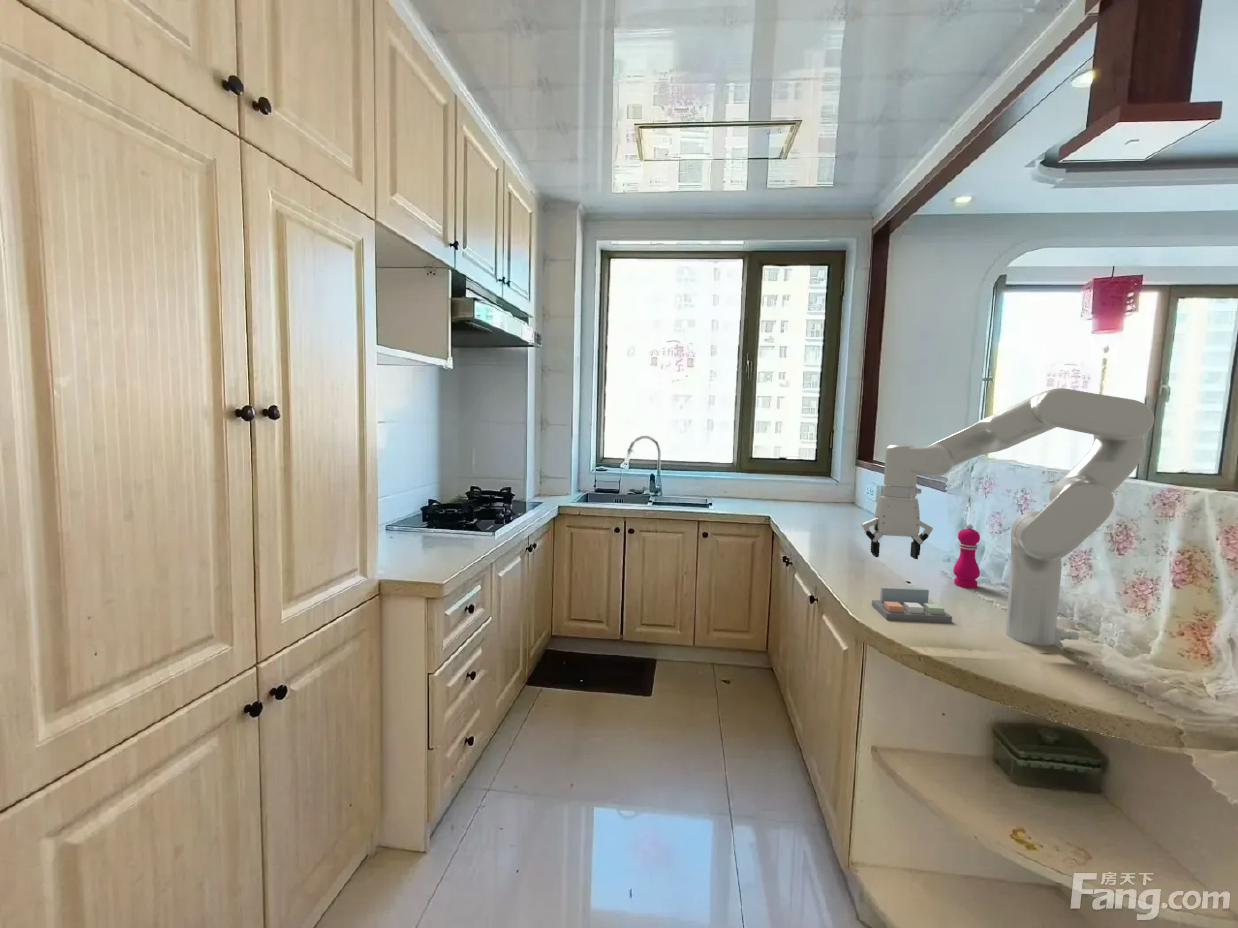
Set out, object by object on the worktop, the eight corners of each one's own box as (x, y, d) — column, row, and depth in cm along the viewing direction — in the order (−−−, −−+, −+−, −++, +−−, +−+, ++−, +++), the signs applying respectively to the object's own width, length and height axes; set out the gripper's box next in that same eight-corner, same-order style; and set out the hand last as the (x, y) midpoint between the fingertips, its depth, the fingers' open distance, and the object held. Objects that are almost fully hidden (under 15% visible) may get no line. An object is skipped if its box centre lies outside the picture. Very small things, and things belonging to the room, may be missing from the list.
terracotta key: (897, 612, 145) (898, 601, 144) (903, 617, 141) (903, 606, 141) (883, 612, 145) (883, 601, 145) (888, 617, 142) (889, 605, 141)
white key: (917, 613, 144) (917, 602, 144) (923, 618, 141) (923, 607, 140) (902, 613, 145) (903, 602, 144) (908, 618, 141) (909, 606, 141)
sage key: (937, 614, 144) (937, 603, 143) (943, 619, 140) (944, 608, 140) (922, 614, 144) (923, 603, 144) (928, 619, 140) (929, 607, 140)
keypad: (932, 613, 149) (933, 588, 148) (951, 628, 138) (953, 601, 138) (871, 610, 150) (872, 586, 150) (885, 624, 140) (887, 598, 139)
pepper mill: (983, 589, 171) (987, 526, 169) (957, 587, 172) (961, 525, 171) (973, 582, 178) (977, 522, 176) (948, 581, 179) (952, 521, 178)
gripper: (928, 491, 143) (923, 555, 145) (859, 489, 145) (855, 551, 147) (941, 495, 136) (936, 562, 137) (869, 493, 138) (864, 558, 140)
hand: (894, 556), depth 142 cm, fingers open, 9 cm apart
